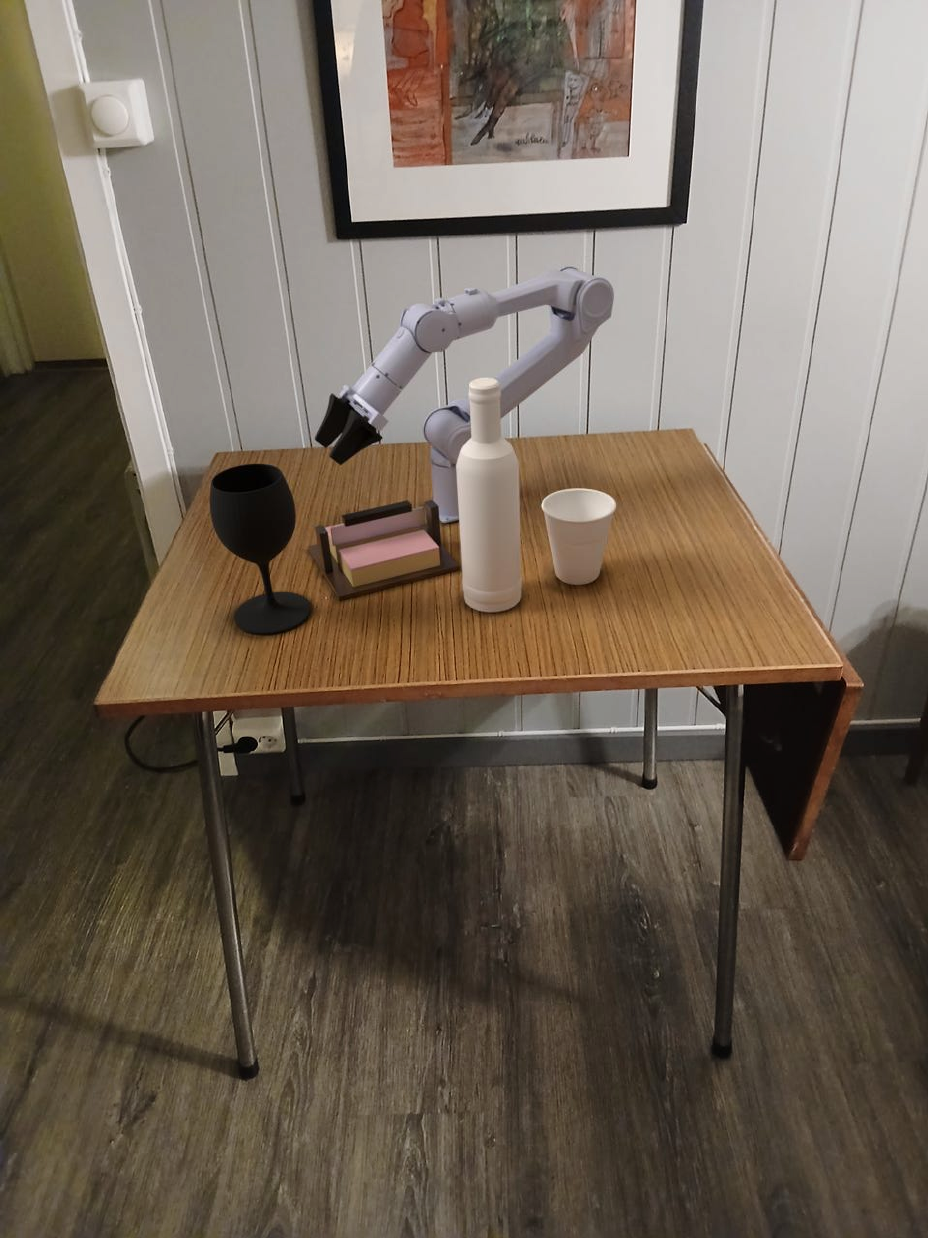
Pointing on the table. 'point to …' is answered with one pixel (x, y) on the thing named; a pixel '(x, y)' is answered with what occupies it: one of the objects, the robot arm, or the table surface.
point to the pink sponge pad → (385, 555)
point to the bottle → (489, 506)
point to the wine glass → (258, 540)
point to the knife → (377, 522)
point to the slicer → (346, 590)
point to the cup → (578, 532)
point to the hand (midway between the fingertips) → (327, 452)
